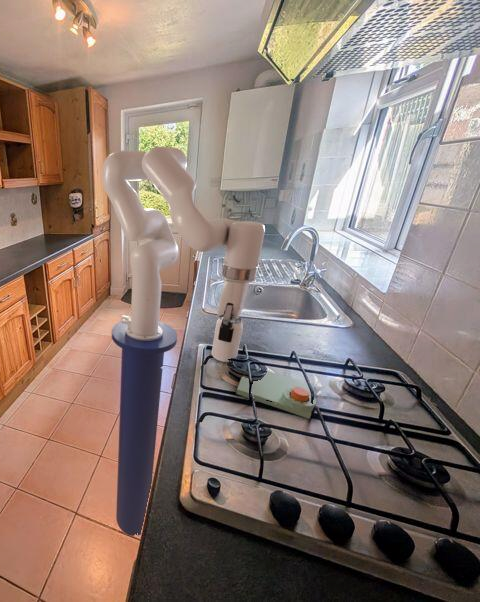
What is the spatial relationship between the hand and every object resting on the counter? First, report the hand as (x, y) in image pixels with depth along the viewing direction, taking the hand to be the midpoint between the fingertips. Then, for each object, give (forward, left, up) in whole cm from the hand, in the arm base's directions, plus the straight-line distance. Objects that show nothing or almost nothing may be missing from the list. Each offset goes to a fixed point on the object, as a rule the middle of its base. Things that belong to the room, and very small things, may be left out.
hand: (227, 334), depth 82 cm
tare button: (+17, -13, -4) cm, 22 cm away
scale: (+13, -9, -7) cm, 17 cm away
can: (0, 0, -7) cm, 7 cm away
